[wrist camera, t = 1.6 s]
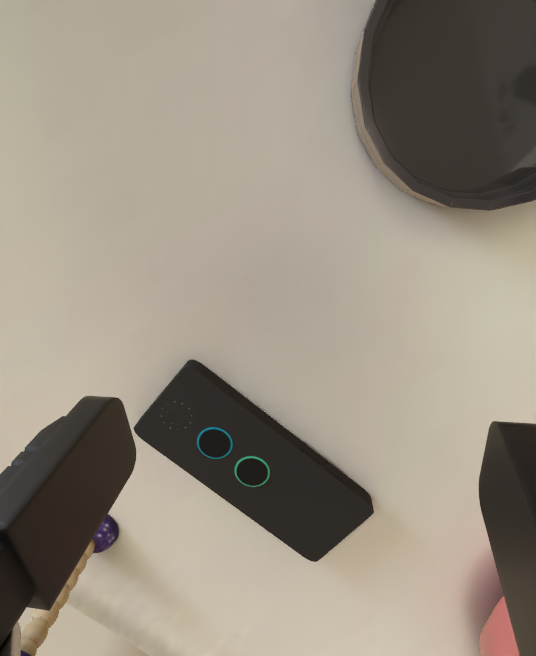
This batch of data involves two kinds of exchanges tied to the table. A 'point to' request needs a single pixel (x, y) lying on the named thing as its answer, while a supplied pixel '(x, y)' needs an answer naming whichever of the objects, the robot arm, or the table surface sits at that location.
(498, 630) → the cell model
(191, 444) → the smart home device
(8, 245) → the table surface
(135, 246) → the table surface
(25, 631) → the toy lamp
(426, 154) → the pan
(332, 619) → the table surface
